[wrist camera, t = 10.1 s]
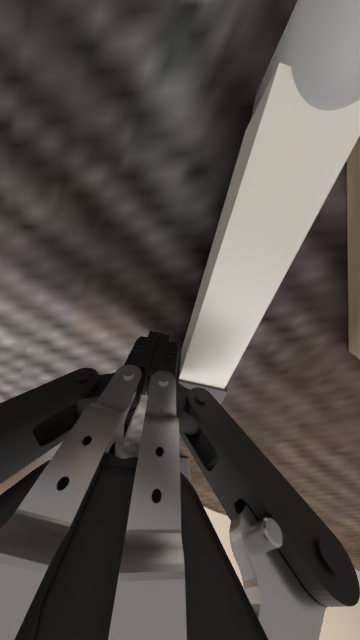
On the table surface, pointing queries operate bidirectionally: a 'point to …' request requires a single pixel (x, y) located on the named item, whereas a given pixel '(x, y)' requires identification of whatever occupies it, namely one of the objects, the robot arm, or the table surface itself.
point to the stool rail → (353, 248)
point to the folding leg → (276, 184)
